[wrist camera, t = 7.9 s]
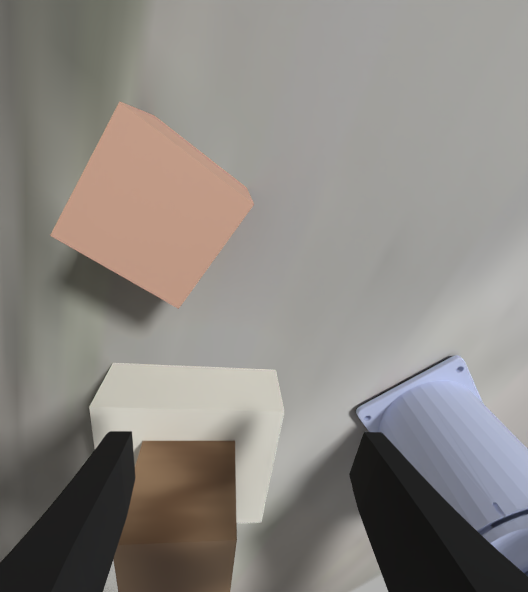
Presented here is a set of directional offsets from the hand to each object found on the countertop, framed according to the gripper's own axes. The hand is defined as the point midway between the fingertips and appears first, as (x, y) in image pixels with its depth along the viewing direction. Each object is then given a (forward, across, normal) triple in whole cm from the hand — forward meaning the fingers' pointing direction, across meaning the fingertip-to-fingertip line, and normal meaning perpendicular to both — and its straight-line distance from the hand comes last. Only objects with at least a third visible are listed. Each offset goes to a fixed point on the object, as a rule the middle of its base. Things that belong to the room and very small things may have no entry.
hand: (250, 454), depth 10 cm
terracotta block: (+10, +4, -6) cm, 12 cm away
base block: (+10, +2, +9) cm, 14 cm away
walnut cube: (+6, +2, +9) cm, 11 cm away
